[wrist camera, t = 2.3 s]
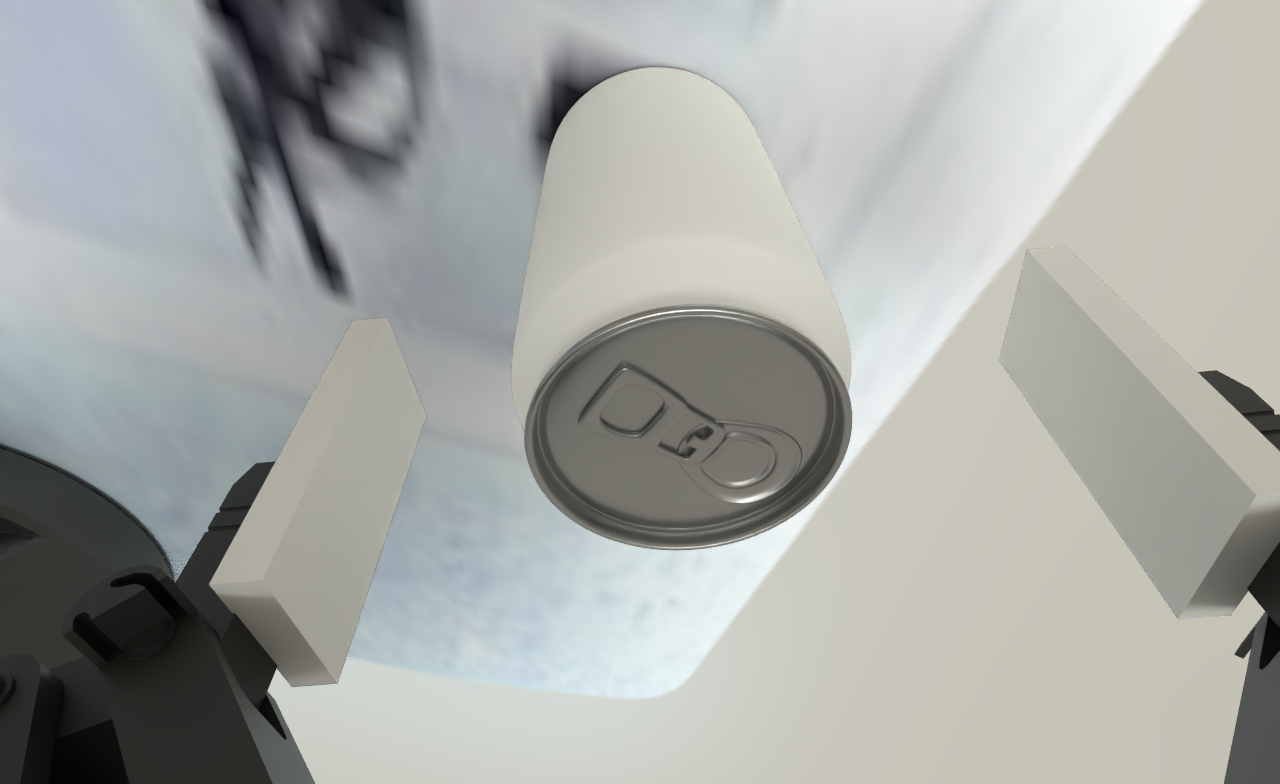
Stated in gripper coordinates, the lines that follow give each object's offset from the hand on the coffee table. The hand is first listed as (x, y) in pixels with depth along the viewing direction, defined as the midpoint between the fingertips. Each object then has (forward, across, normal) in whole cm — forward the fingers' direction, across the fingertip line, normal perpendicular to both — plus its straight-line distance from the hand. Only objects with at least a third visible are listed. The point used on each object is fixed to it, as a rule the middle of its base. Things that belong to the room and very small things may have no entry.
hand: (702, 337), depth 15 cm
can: (+9, -1, 0) cm, 9 cm away
